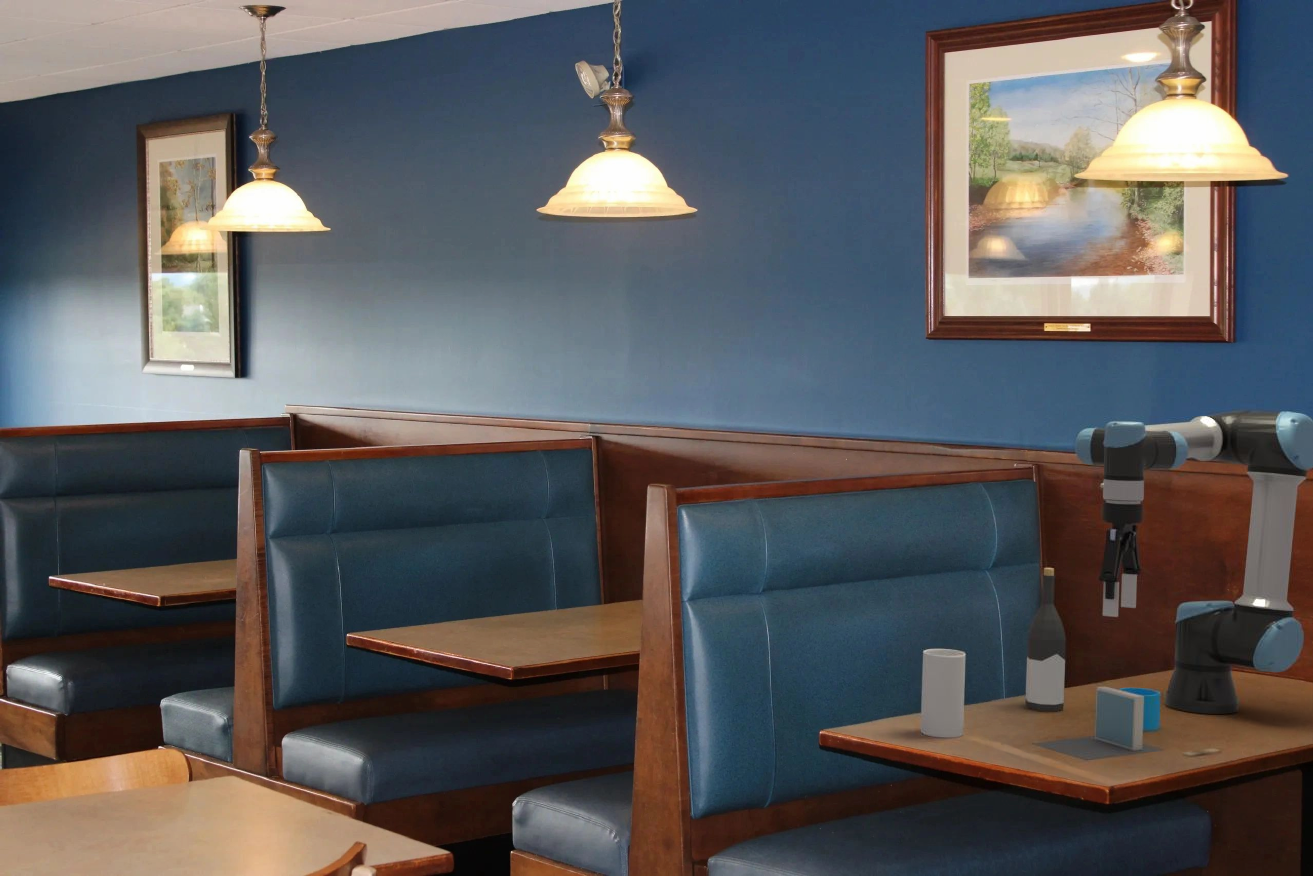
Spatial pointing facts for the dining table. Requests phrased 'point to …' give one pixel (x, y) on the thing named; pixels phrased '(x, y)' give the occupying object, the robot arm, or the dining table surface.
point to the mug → (1148, 707)
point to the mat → (1092, 748)
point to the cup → (943, 693)
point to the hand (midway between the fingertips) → (1119, 611)
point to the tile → (1119, 718)
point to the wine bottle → (1046, 654)
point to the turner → (1201, 752)
